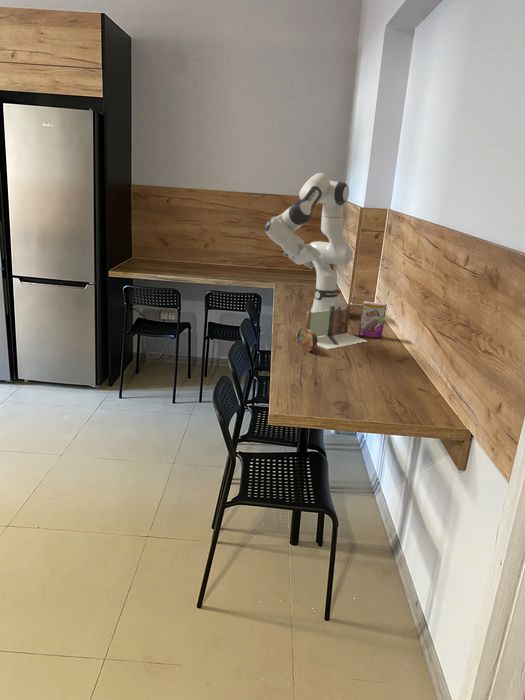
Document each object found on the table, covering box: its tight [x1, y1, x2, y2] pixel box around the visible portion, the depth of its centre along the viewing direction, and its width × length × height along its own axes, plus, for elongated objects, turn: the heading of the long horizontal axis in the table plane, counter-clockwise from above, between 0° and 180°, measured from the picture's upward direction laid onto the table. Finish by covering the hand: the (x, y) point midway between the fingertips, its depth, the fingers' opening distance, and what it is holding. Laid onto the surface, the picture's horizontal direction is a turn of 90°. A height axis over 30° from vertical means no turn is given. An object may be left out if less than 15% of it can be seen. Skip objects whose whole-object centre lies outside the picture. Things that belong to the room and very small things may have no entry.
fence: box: [328, 305, 351, 336], centre depth 254 cm, size 13×2×14 cm, turn 127°
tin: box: [297, 327, 318, 353], centre depth 231 cm, size 15×3×8 cm, turn 21°
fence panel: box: [304, 310, 330, 337], centre depth 246 cm, size 14×2×12 cm, turn 127°
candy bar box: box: [358, 300, 388, 339], centre depth 255 cm, size 11×5×16 cm, turn 74°
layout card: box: [317, 332, 368, 350], centre depth 248 cm, size 26×20×1 cm
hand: (317, 266), depth 241 cm, fingers open, 8 cm apart
